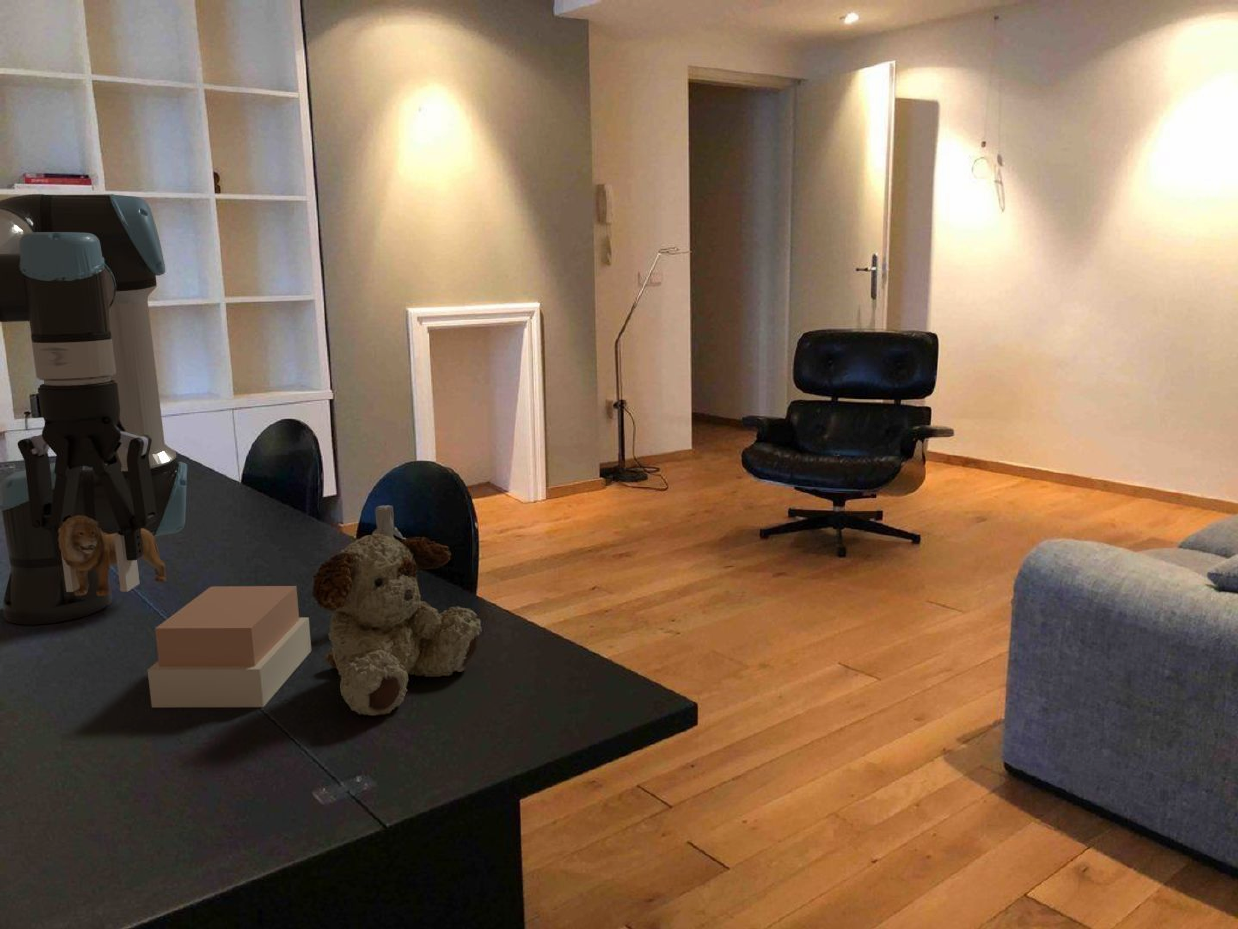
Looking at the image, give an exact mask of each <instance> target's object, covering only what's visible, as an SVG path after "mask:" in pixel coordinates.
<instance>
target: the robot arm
mask: <svg viewBox="0 0 1238 929" xmlns="http://www.w3.org/2000/svg"><path fill="white" fill-rule="evenodd" d="M160 241H161V240H160V237H159V233H158V228H157V226H156V223H155V218H154V216H153V212H152V210H151V207H150V205H149V204H148V202H147V201H146V200H144V199H143V198H141V197H139V196H132V195H122V194H113V193H111V194H109V193H108V194H107V193H105V194H102V193H101V194H97V193H96V194H44V193H33V194H24V195H16V196H12V197H8V198H5V199H1V200H0V323H13V322H15V323H16V322H23V323H24V322H25V323H26V322H28V323H29V326H30V327H29V328H30V334H31V335H30V338H31V346H32V354H33V361H34V369H35V374H36V375H35V377H36V378H37V379H38V380H39V381H43V383H42V384H40V385H39V387H37V393H38V401H39V409H40V415H41V417H42V418H43V420H44V426H43V427H42V431H41V434H39V435H34V436H30V437H26V438H24V439H19V441H17V448H18V450H19V452H20V454H21V456H22V459H23V460H24V467H25V469H22V470H20V471H16V472H14V473H12V474H10V475H8V476H6V477H5V478H4V479H3V480H2V482H1V483H0V511H1V514H2V518H3V526H4V532H5V538H6V545H7V552H8V559H9V565H10V566H9V568H10V571H9V574H8V579H7V583H6V587H5V592H4V597H3V601H2V610H3V617H4V620H6V622H9V623H11V624H17V625H29V626H31V625H47V624H55V623H60V622H61V623H63V622H67V621H72V620H76V619H79V618H82V617H86V616H89V615H92V614H94V613H97V612H99V611H102V610H103V609H105V608H107V607H108V606H109V605H111V603H112V592H111V587H110V584H109V583H108V585H109V594H108V595H103V596H98V595H97V594H96V592H97V591H98V583H99V578H98V573H97V571H96V569H93V570H91V571H88V583H89V587H88V591H87V593H86V594H84V595H75V594H74V593H75V591H76V590H78V589H79V588H80V585H79V582H78V577H77V574H76V570H74V569H71V567H70V566H69V565H67V564H66V562H65V560H64V559H63V557H62V553H61V550H60V548H59V541H58V537H59V531H58V530H59V528H60V527H61V526H62V525H63V523H64V522H65V521H66V520H67V519H68V518H71V517H74V516H78V515H81V516H87V517H88V518H91V519H93V520H94V521H97V522H98V526H97V527H98V528H100V529H101V530H102V531H103V532H106V533H107V534H114V533H116V534H114V542H115V550H116V558H117V565H116V566H117V574H118V581H119V582H120V585H119V589H120V592H121V593H122V592H124V593H126V592H129V591H131V590H132V589H134V588H135V587H137V586H138V585H140V584H141V583H140V575H139V574H140V573H139V568H138V567H139V566H138V560H139V559H140V558H142V555H143V548H142V538H141V529H142V528H144V529H146V530H148V531H149V532H150V533H151V534H152V535H153V537H154V538H157V537H159V536H162V535H169V534H176V533H178V532H180V531H181V530H183V528H184V526H185V524H186V508H187V505H186V504H187V484H188V483H187V480H188V479H187V477H188V464H187V463H186V462H183V461H178V459H177V452H176V450H174V449H173V448H171V447H170V446H168V445H167V444H166V443H165V436H164V426H163V418H162V410H161V403H160V402H161V400H160V394H159V385H158V376H157V369H156V361H155V359H156V358H155V351H154V345H153V344H154V343H153V342H154V341H153V334H152V327H151V318H150V311H149V310H150V309H149V300H148V298H149V296H150V295H151V294H152V293H153V292H154V290H155V289H157V287H158V284H157V276H158V277H160V276H161V275H164V274H165V273H166V265H165V259H164V255H163V250H162V246H161V242H160ZM50 449H51V451H52V452H53V453H54V454H55V455H56V456H55V462H52V463H50V462H51V461H50V457H49V453H48V452H49V450H50ZM85 467H88V468H92V469H87V470H85Z"/></svg>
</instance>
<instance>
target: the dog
mask: <svg viewBox="0 0 1238 929" xmlns="http://www.w3.org/2000/svg"><path fill="white" fill-rule="evenodd" d="M405 538H406V537H405ZM449 548H450V547H449V546H448V545H442V544H440V543H438V542H437V543H436V541H435V540H434V541H433V540H432V541H431V540H430V539H429V538H427V537H425V536H421V537H420V536H418V537H417V536H415V537H414V536H409V537H408V538H406V539H396V538H395V537H394V536H393V537H391V538H390V537H389V536H385V535H384V534H369V535H364V536H361V537H360V538H358V539H356V540H354V541H353V542H352V543H349V544H348V545H347V546H346V547H345V548H344V549H341V550H340V552H339V553H337V554H335V555H333V556H330V559H329V560H325V561H324V562H323V563H322V564H320V567H318V571H317V572H314V574H313V575H312V578H313V579H312V580H313V582H314V583H313V585H312V593H311V596H312V597H313V598H314V599H315V601H316V602H317V605H318V606H319V607H320V608H323V609H324V610H325V611H331V612H334V611H335V612H334V613H333V614H331V618H330V625H328V626H329V629H330V630H329V632H328V633H327V636H328V639H329V640H330V641H331V644H332V648H331V652H326V654H325V658H324V660H325V661H326V662H328V663H329V665H330V666H332V667H333V668H334V669H337V671H338V675H339V676H340V684H339V689H340V693H341V694H340V695H341V697H342V698H343V699H344V702H345V703H346V704H347V705H348V706H349V707H350V710H351V711H353V712H356V713H357V714H358V715H365V716H377V715H378V716H380V715H386V714H390V713H392V710H395V708H397V707H398V706H400V705H401V704H402V703H403V702H404V699H405V697H406V692H408V689H407V686H408V682H409V675H410V676H413V675H414V676H417V677H430V678H431V677H432V678H435V677H438V678H441V677H442V676H445V677H448V676H452V675H453V674H454V672H461V673H462V672H463V671H465V670H466V666H467V665H468V664H469V661H470V660H471V659H472V657H473V655H474V653H475V652H476V650H477V647H478V643H479V638H480V634H481V632H482V631H483V630H482V628H483V627H482V626H481V619H480V618H477V617H478V614H476V613H475V612H474V611H473V609H472V610H471V608H465V607H460V606H453V607H452V606H451V607H449V608H448V610H443V611H442V612H439V610H438V609H437V608H434V607H432V606H431V605H430V604H429V603H427V602H426V601H422V600H421V594H420V587H419V581H418V574H417V571H418V569H420V570H430V569H432V570H433V569H435V570H437V569H439V568H441V567H444V566H445V565H446V564H447V563H449V561H450V560H451V556H452V553H451V551H450V550H449Z"/></svg>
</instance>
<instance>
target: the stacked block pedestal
mask: <svg viewBox="0 0 1238 929" xmlns="http://www.w3.org/2000/svg"><path fill="white" fill-rule="evenodd" d="M297 589H298V588H297V585H275V586H274V585H268V586H267V585H253V586H252V585H251V586H250V585H248V586H245V585H244V586H242V585H241V586H236V585H235V586H232V585H230V586H229V585H228V586H225V585H224V586H219V585H218V586H217V585H215V586H210V587H208V588H207V589H205V590H204V591H202V593H201V594H198V596H196V597H195V598H194V599H192V600H191V601H190V602H188V603H187V604H186V605H184V606H183V607H182V608H180V609H179V610H178V611H176V612H175V613H174V614H173V615H171V616H170V617H169V618H167V619H166V620H164V621H163V622H162V623H160V624H159V625H158V626H156V627H155V628H154V631H155V638H156V650H157V657H158V660H157V661H156V662H155V663H154V664H153V665H152V666H150V667H149V668H148V669H147V678H148V684H149V694H150V703H151V708H264V707H265V706H266V705H267V704H268V702H270V700H271V699H272V698H273V696H274V695H275V694H276V693H277V692H278V691H279V689H280V688H281V687H283V685H284V684H285V683H286V682H287V680H288V679H289V678H290V677H291V675H292V674H293V673H294V672H295V671H296V669H297V668H298V667H299V666H300V665H301V664H302V663H303V662H304V660H305V659H306V658H307V657H308V656H309V654H310V653H311V652H312V644H311V643H312V641H311V630H310V618H309V617H300V615H299V614H300V612H299V603H298V601H299V600H298V590H297Z"/></svg>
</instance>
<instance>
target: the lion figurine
mask: <svg viewBox="0 0 1238 929" xmlns="http://www.w3.org/2000/svg"><path fill="white" fill-rule="evenodd" d="M97 526H98V522H97V521H94V520H93V519H91V518H88V517H87V516H81V515H78V516H74V517H71V518H68V519H67V520H66V521H65V522H64V523H63V525H62V526H61V527H60V528H59V530H58V531H59V537H58V541H59V548H60V550H61V553H62V557H63V559H64V560H65V562H66V564H67V565H69V566H70V567H71V569H74V570H76V574H77V577H78V582H79V585H80V588H79V589H78V590H76V591H75V593H74V594H75V595H84V594H86V593H87V591H88V587H89V583H88V571H91V570H93V569H96V571H97V573H98V578H99V583H98V591H97V592H96V594H97V595H98V596H103V595H108V594H109V586H110V584H109V572H110V567H113V566H117V558H116V550H115V542H114V534H116V533H114V534H107V533H106V532H103V531H102V530H101V529H100V528H98V527H97ZM141 538H142V548H143V555H142V557H141V558H142V559H143V560H145V561H146V563H147V564H149V565H151V566H152V567H154V572H155V575H156V576H155V578H154V582H155V583H158V584H159V583H165V582H166V581H167V574H166V573H167V572H166V565H165V562H164V561H163V560H161V559H160V552H159V548H158V544H157V541H156V537H153V535H152V534H151V533H150V532H149V531H148V530H146V529H144V528H142V529H141ZM108 584H109V585H108ZM117 585H119V586H120V582H119V580H118V582H117Z"/></svg>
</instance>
